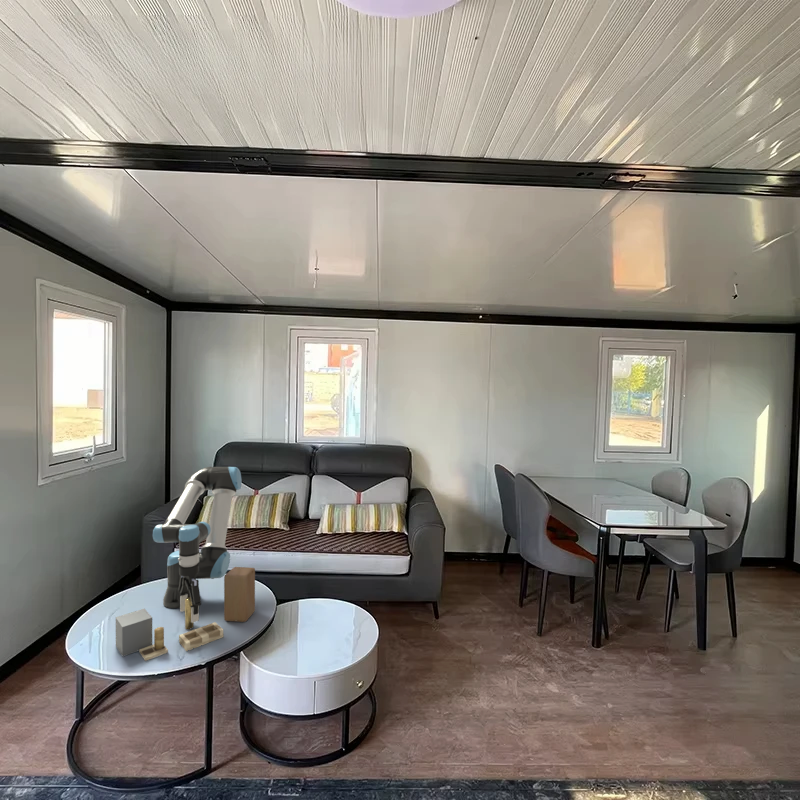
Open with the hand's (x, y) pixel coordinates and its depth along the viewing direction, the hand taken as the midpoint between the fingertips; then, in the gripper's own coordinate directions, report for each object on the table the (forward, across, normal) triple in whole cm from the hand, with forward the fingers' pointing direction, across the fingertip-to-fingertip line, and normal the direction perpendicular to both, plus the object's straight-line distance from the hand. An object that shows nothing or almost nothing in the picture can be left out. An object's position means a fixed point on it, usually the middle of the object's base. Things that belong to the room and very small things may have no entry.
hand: (189, 615), depth 183 cm
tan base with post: (+5, +9, -16) cm, 19 cm away
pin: (+5, 0, 0) cm, 5 cm away
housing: (+5, -1, -20) cm, 21 cm away
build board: (+5, +13, 0) cm, 14 cm away
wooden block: (+5, +6, +19) cm, 21 cm away
